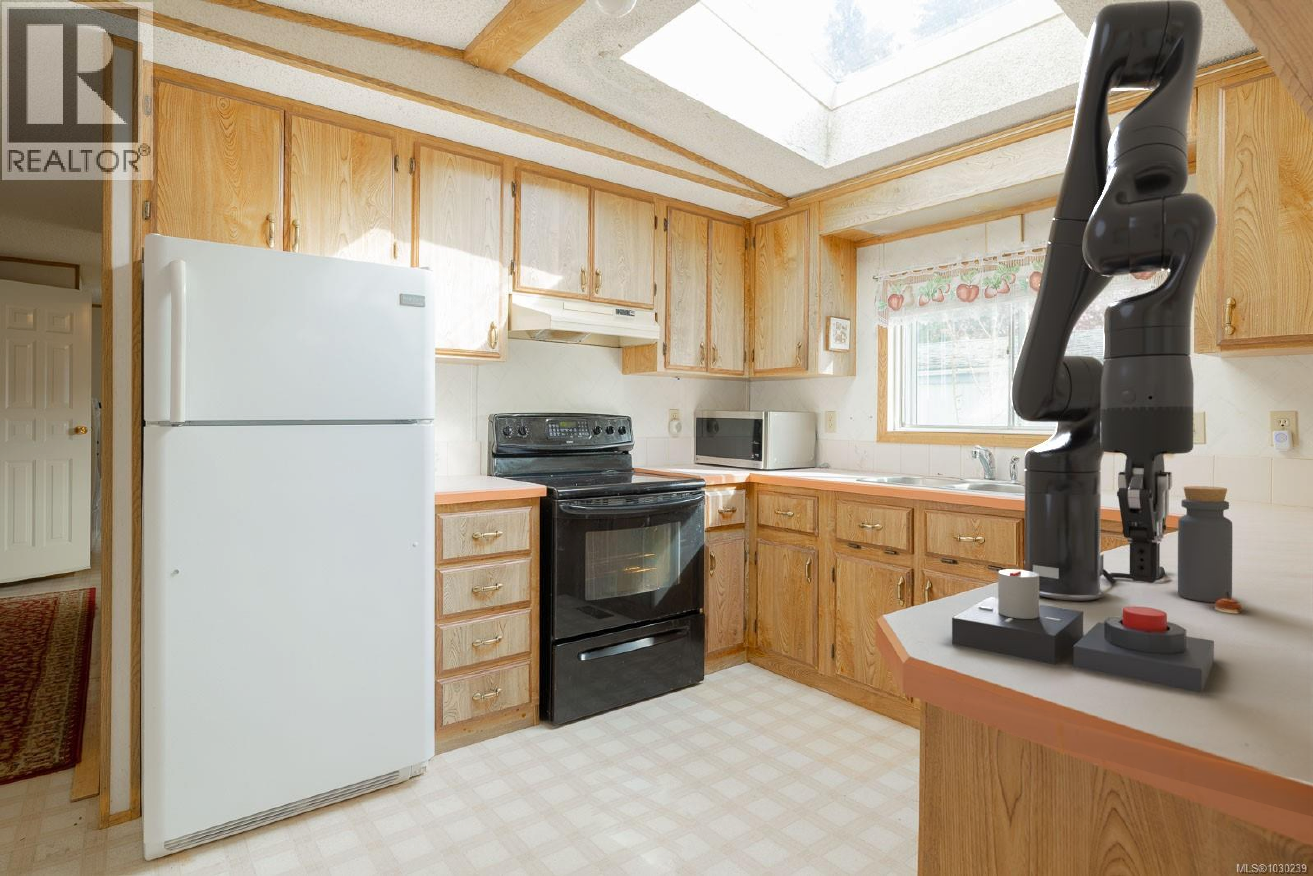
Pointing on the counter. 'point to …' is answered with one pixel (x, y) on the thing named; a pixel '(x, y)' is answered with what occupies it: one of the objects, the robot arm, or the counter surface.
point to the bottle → (1204, 545)
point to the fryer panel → (1018, 631)
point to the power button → (1144, 618)
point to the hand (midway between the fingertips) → (1144, 579)
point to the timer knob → (1018, 594)
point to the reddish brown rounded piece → (1228, 605)
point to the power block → (1146, 654)
